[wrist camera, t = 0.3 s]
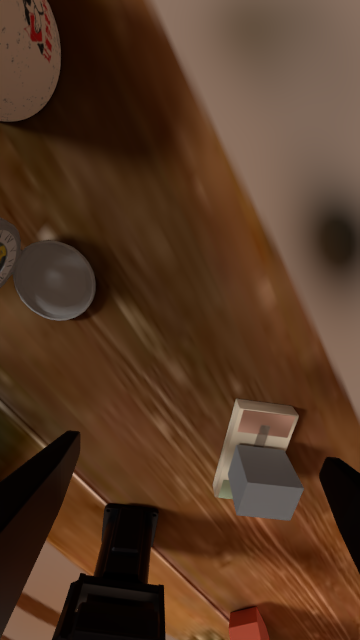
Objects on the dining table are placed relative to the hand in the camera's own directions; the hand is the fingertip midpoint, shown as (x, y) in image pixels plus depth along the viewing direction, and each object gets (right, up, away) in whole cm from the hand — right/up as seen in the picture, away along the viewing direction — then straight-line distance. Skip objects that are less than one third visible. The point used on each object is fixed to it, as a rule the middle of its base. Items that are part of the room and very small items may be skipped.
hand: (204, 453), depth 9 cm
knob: (+7, -10, +16) cm, 20 cm away
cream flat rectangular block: (+7, -9, +18) cm, 21 cm away
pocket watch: (-12, +9, +12) cm, 19 cm away
